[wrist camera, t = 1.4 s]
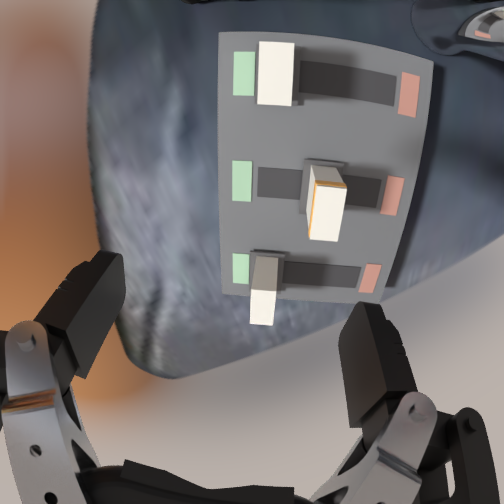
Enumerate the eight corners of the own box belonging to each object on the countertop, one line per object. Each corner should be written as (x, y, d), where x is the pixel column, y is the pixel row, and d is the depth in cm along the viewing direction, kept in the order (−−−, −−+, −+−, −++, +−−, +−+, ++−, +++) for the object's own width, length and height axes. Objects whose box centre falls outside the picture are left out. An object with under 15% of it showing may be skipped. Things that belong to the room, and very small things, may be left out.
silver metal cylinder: (478, 47, 16) (591, 60, 4) (432, 70, 19) (547, 87, 7) (442, -14, 14) (543, -44, 1) (391, 5, 17) (486, -40, 4)
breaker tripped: (343, 162, 22) (356, 184, 18) (335, 216, 25) (344, 247, 21) (304, 158, 23) (308, 179, 18) (298, 212, 25) (300, 243, 21)
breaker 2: (285, 253, 28) (284, 288, 24) (280, 292, 30) (279, 329, 26) (250, 250, 28) (243, 284, 24) (249, 290, 31) (243, 326, 26)
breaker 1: (300, 46, 18) (305, 38, 14) (297, 106, 20) (300, 113, 16) (256, 44, 18) (249, 35, 14) (254, 103, 21) (247, 110, 16)
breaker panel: (419, 61, 19) (434, 61, 17) (372, 287, 33) (378, 305, 30) (226, 37, 20) (218, 32, 18) (226, 276, 34) (221, 294, 32)
